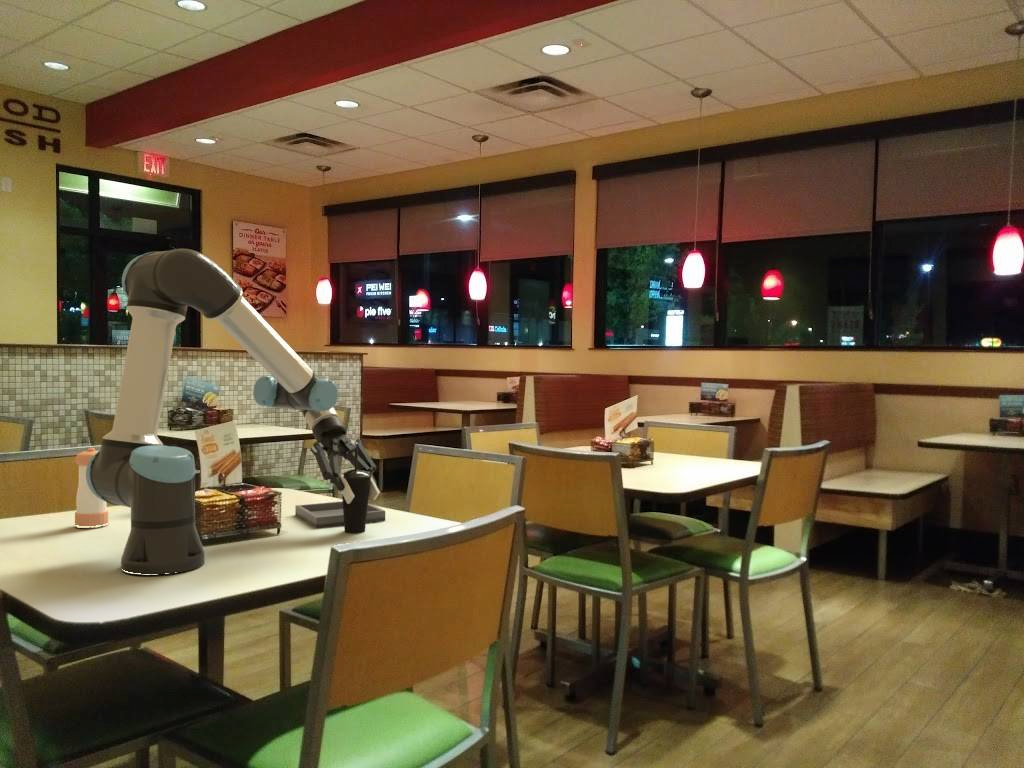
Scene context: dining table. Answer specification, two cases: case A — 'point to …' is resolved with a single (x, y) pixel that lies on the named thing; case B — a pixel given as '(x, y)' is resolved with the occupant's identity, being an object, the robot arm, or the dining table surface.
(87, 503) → the pepper shaker
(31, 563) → the dining table surface
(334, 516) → the serving tray
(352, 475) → the drinking cup
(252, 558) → the dining table surface
